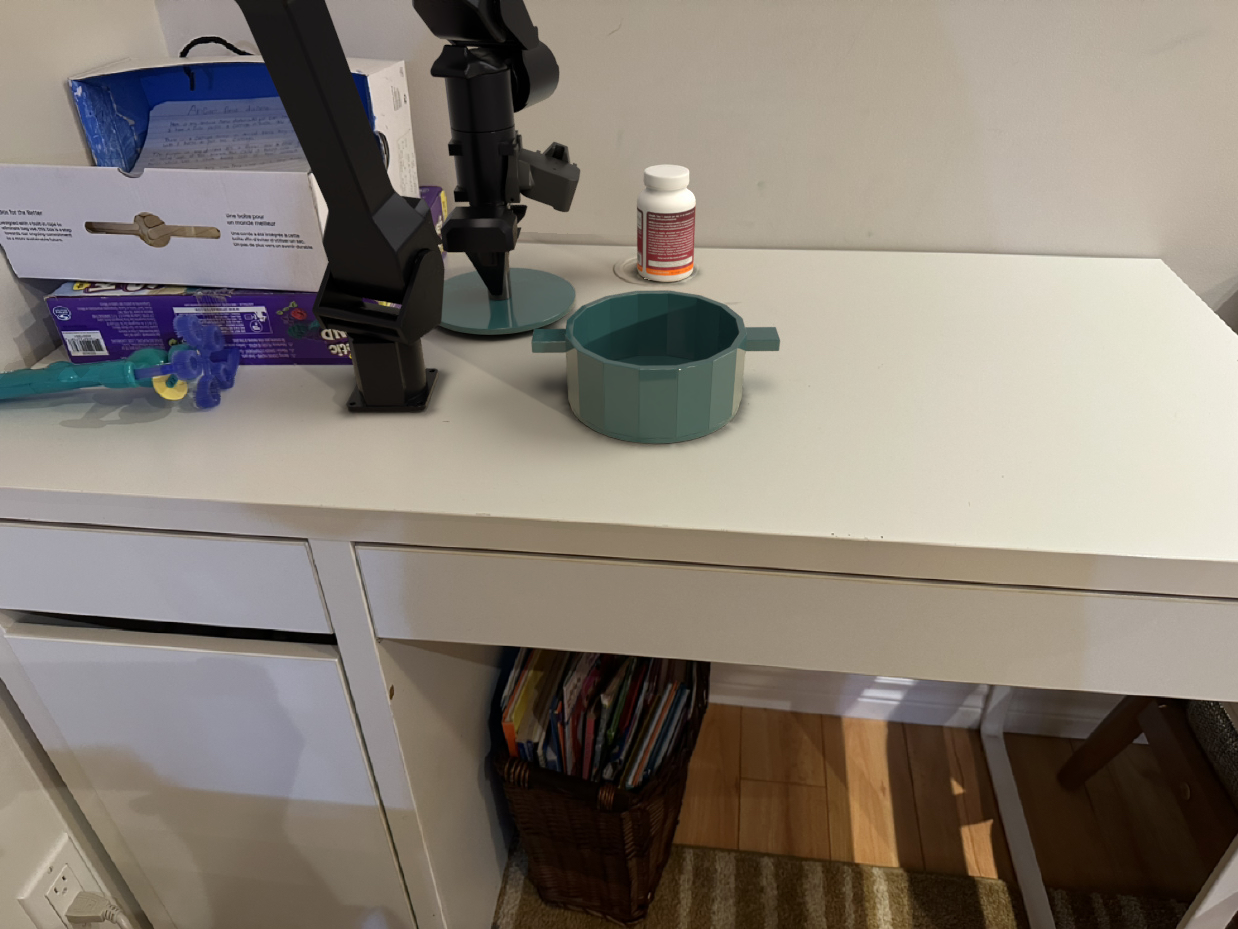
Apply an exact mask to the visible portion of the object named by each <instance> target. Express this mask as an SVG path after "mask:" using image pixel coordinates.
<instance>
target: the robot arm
mask: <svg viewBox="0 0 1238 929" xmlns="http://www.w3.org/2000/svg"><path fill="white" fill-rule="evenodd" d="M233 1H234V2H235V3H236V4H237V5H238V7H239V9H240V11H241V12H242V14H243V16H244V19H245V21H246V24H247V26H248V28H249V31H250V33H251V35H252V37H253V40H254V42H255V45H256V46H257V49H258V51H259V53H260V55H261V58H262V60H263V62H264V65H265V67H266V69H267V72H268V74H269V76H270V78H271V81H272V83H273V85H274V88H275V90H276V93H277V94H278V97H279V99H280V102H281V104H282V105H283V108H284V111H285V113H286V115H287V117H288V120H289V122H290V124H291V127H292V129H293V131H294V133H295V136H296V138H297V140H298V143H299V145H300V148H301V150H302V152H303V154H304V156H305V158H306V161H307V163H308V166H309V168H310V170H311V173H312V174H313V177H314V180H315V182H316V184H317V186H318V188H319V191H320V193H321V196H322V197H323V200H324V202H325V205H326V208H327V214H326V219H325V223H324V224H325V225H324V228H323V234H322V239H321V242H322V246H323V250H324V253H325V257H326V259H327V265H326V267H325V270H324V273H323V276H322V279H321V282H320V285H319V288H318V291H317V293H316V296H315V299H314V302H313V305H312V309H311V312H312V314H313V316H314V319H316V321H317V323H318V325H319V326H320V328H321V329H322V330H327V331H329V330H332V331H338V332H342V333H345V334H346V339H347V343H348V348H349V352H350V356H351V362H352V366H353V371H354V375H355V381H356V385H355V387H354V389H353V391H352V393H351V395H350V396H349V399H348V400H347V402H346V405H345V406H346V409H347V411H348V412H419V411H424V410H426V409H427V407H428V405H429V403H430V399H431V396H432V394H433V392H434V389H435V386H436V383H437V380H438V377H439V369H438V368H434V367H433V368H432V367H430V368H429V367H428V368H427V367H426V364H425V363H426V362H425V357H424V351H423V344H422V338H423V337H424V336H427V334H428V333H430V332H432V330H434V329H435V328H437V327H438V326H440V325H439V324H440V323H441V320H442V304H443V289H444V281H445V275H446V274H445V270H446V269H445V262H444V259H443V256H442V254H443V253H442V251H444V252H446V253H447V254H449V253H450V254H451V253H453V254H454V253H457V254H459V253H462V254H463V253H464V254H465V255H466V257H467V258H468V260H469V262H470V263H471V264H472V266H473V268H474V269H475V271H477V272H478V274H479V276H480V277H481V279H482V280H483V282H484V284H485V285H486V287H487V289H488V290H489V292H490V293H491V295H502V293H503V286H504V275H505V264H506V253H507V252H508V255H509V256H510V254H511V253H510V252H512V251H515V248H516V244H517V243H518V242H517V241H518V239H519V237H520V234H521V231H522V227H521V226H520V227H518V224H519V223H520V222H522V220H523V219H524V218H525V216H526V213H527V210H528V205H527V204H521V201H522V197H521V196H523V197H525V198H527V199H529V200H532V201H535V202H538V203H542V204H543V205H547V206H549V207H552V208H553V210H555V211H556V212H561V213H569V212H570V210H571V207H572V204H573V200H574V198H575V194H576V191H577V188H578V184H579V181H580V177H581V169H580V168H579V167H578V164H577V163H575V162H573V163H571V158H570V152H569V146H568V145H565V144H562V143H560V142H557V141H553V142H551V144H550V145H548V147H546V149H545V150H544V151H543V152H541V150H538V149H536V151H533V150H530V149H527V148H524V146H523V136H522V134H519V129H516V123H515V122H516V121H515V114H517V113H519V112H521V111H523V110H526V109H528V108H530V107H532V106H535V105H536V104H539V103H541V102H543V101H546V100H547V99H549V98H550V97H552V95H554V94H555V91H556V90H557V88H558V85H559V82H560V65H558V62H557V58H556V56H555V55H554V53H553V51H552V50H551V49H550V47H549V46H548V45H547V44H546V43H544V42H543V41H542V40H540V38H539V28H538V26H537V25H534V23H533V21H532V19H531V16H530V14H529V10H528V9H527V6H526V3H525V1H524V0H411V5H412V7H413V10H414V11H415V12H416V13H417V15H418V16H419V18H420V19H421V20H422V22H423V23H424V24H425V26H426V27H427V28H428V30H429V31H430V32H431V33H432V35H433V36H435V37H436V38H438V39H439V40H446V41H447V42H448V43H449V44H448V43H447V44H446V43H445V44H443V46H442V50H441V53H440V54H439V56H438V57H437V58H436V59H435V60H434V61H433V63H432V65H431V67H430V70H429V74H430V76H431V77H432V78H441V79H444V86H445V92H446V101H447V109H448V110H447V112H448V118H449V126H450V135H451V136H450V137H451V139H450V140H449V141H448V143H447V150H448V156H449V157H453V158H454V168H455V177H456V178H455V179H456V185H455V187H454V189H453V199H454V203H468V205H467V206H466V205H465V206H459V205H458V206H455V207H454V208H453V209H452V210H451V211H450V213H449V214H448V215H447V216H446V218H445V220H444V222H443V224H442V226H441V227H440V229H439V230H440V235H439V234H438V232H437V228H436V227H435V224H434V219H433V214H432V209H431V207H430V206H429V205H428V203H427V201H426V200H425V199H424V198H422V197H413V196H408V195H407V196H406V195H401V194H399V193H398V191H396V189H395V188H394V186H393V184H392V181H391V179H390V176H389V173H388V170H387V167H386V165H385V162H384V159H383V157H382V154H381V151H380V148H379V146H378V143H377V140H376V138H375V134H374V132H373V128H372V127H371V123H370V121H369V118H368V115H367V113H366V109H365V106H364V104H363V101H362V98H361V96H360V93H359V90H358V87H357V85H356V82H355V80H354V76H353V74H352V72H351V69H350V66H349V63H348V60H347V57H346V55H345V52H344V49H343V46H342V44H341V40H340V38H339V36H338V32H337V30H336V27H335V23H334V22H333V19H332V16H331V13H330V10H329V8H328V5H327V2H326V0H233ZM440 245H441V246H442V251H441V249H440V247H439V246H440ZM364 299H366V300H372V301H378V302H382V303H388V304H394V305H399V306H400V307H394V306H388V305H385V304H384V305H383V304H378V303H372V302H366V301H363V300H364Z"/></svg>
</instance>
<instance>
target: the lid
mask: <svg viewBox="0 0 1238 929" xmlns="http://www.w3.org/2000/svg"><path fill="white" fill-rule="evenodd" d="M576 301H577V292H576V288H575V287H574V286H573V285H572V283H571V282H569V281H568V280H567V279H565V278H564V277H563V276H561V275H558V274H556V273H553V272H548V271H545V270H541V269H535V268H528V267H527V268H526V267H511V266H510V254H509V255H508V252H507V253H506V264H505V275H504V286H503V293H502V295H491V293H490V292H489V290H488V289H487V287H486V285H485V284H484V282H483V280H482V279H481V277H480V276H479V274H478V272H477V271H476V270H472V271H468V272H463V273H461V274H457V275H455V276H452V277H449V278H447V279H444V289H443V304H442V320H441V323H440V324H439V325H438V326H440V327H442V328H444V329H447V330H451V331H453V332H457V333H464V334H471V335H472V334H473V335H489V336H494V335H507V334H509V335H510V334H517V333H524V332H528V331H532V330H533V331H534V329H541V328H543V327H545V326H548V325H551V324H553V323H556V322H557V321H559V320H561V319H562V318H564V317H566V316H567V315H568V314H569V313H570V312H571V311H572V310H573V308H574V306H576Z"/></svg>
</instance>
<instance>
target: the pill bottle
mask: <svg viewBox="0 0 1238 929" xmlns="http://www.w3.org/2000/svg"><path fill="white" fill-rule="evenodd" d="M689 184H690V170H689V168H688V167H685V166H682V165H679V164H678V165H677V164H656V165H651V166H647V167H646V168H645V169H644V170H643V185H644V186H645V187H646V188H644V189H643V190H642V191H641V192H640V193H639V194H638V195H637V199H636V268H637V272H638V274H639V275H640V276H641V277H643V278H645V279H646V280H650V281H654V282H663V283H669V282H678V281H682V280H685V279H686V278H688V277H689V276H690V275H692V273H693V271H694V263H695V262H694V260H695V233H696V232H695V231H696V211H697V210H696V206H697V204H696V202H697V200H696V196H695V194H694V192H692V191H691V190H690V189H688V186H689Z"/></svg>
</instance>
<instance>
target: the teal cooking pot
mask: <svg viewBox="0 0 1238 929" xmlns="http://www.w3.org/2000/svg"><path fill="white" fill-rule="evenodd" d="M531 338H532V339H531V343H530V344H531V353H532V354H552V353H553V354H557V353H559V354H562V353H563V354H565V363H566V381H567V382H566V383H567V384H566V385H567V400H568V402H569V406H570V409H571V411H572V412H573V414H574V416H575V417H576V418H577V419H578V420H579V421H580V422H581V423H582V424H583V425H585V426H586V427H588V428H590V429H592V430H593V431H594V432H597V433H599V434H601V435H604V436H607V437H609V438H612V439H618V440H620V441H624V442H625V441H626V442H629V443H637V444H652V445H653V444H657V445H659V444H673V443H682V442H686V441H692V440H695V439H698V438H702V437H705V436H708V435H710V434H713V433H714V432H716V431H718V430H720V429H722V428H723V427H724V426H726V425H727V424H729V423H730V422H731V421H732V420H733V419H734V417H735V416H736V414H737V412H738V410H739V408H740V403H741V401H742V399H743V386H744V375H745V361H746V352H779V351H780V346H781V339H780V336H779V332H778V330H777V326H746V325H745V322H744V318H743V317H742V316H741V315H739V314H738V313H737V312H736V311H735V310H733V309H732V308H731V307H730V306H728V305H727V304H725V303H723V302H720V301H718V300H714V299H712V298H709V297H706V296H704V295H700V294H696V293H688V292H684V291H683V292H681V291H675V290H669V289H668V290H667V289H666V290H662V289H661V290H660V289H659V290H633V291H627V292H620V293H615V294H610V295H605V296H602V297H600V298H598V299H595V300H593V301H591V302H588V303H585V304H583V305H581V306H580V307H579V308H578V309H577V310H576V311H574V312H573V313H572V314H571V315H570V316H569V317H568V318H567V319H566V323H565V328H536V329H533V332H532V337H531Z"/></svg>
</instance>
